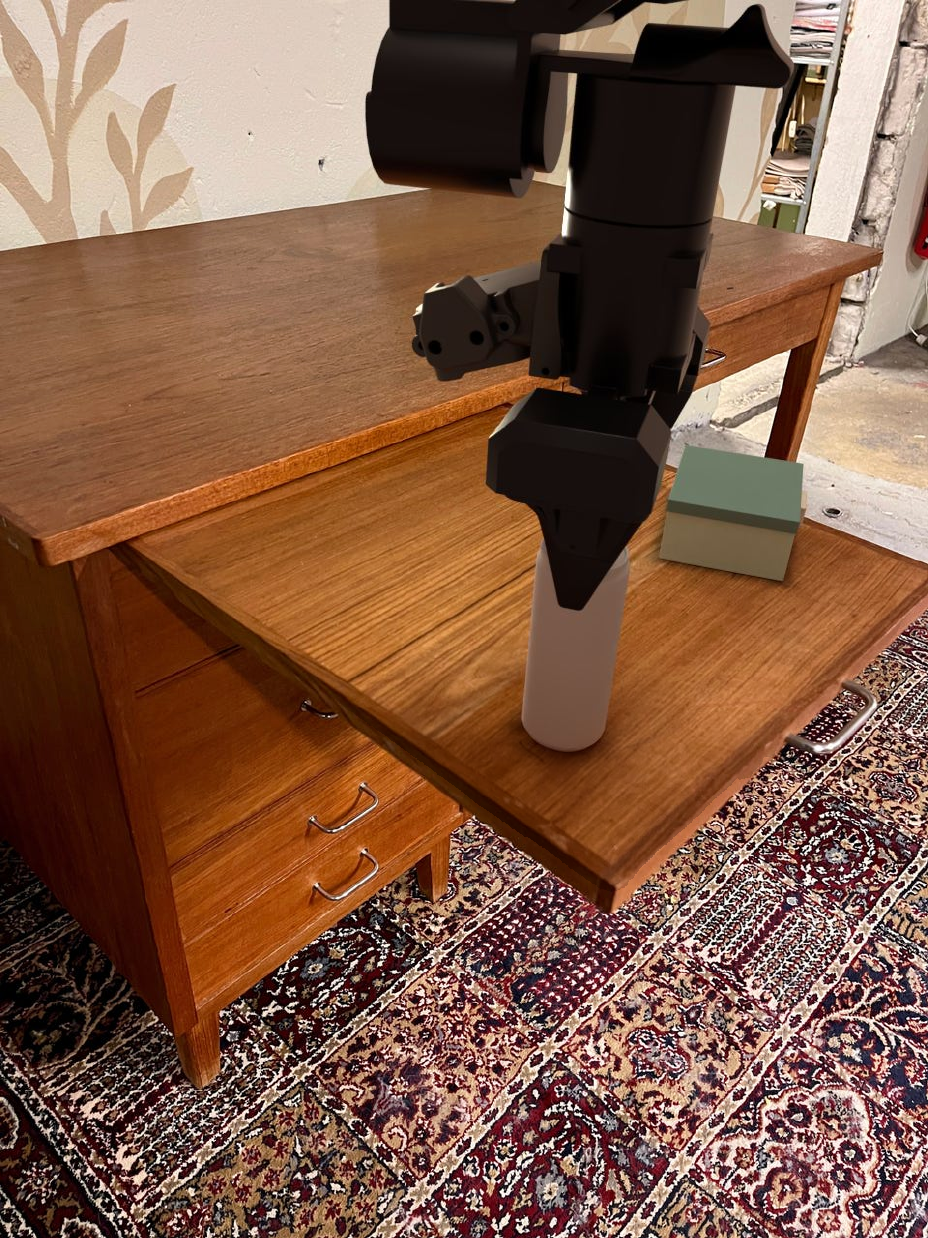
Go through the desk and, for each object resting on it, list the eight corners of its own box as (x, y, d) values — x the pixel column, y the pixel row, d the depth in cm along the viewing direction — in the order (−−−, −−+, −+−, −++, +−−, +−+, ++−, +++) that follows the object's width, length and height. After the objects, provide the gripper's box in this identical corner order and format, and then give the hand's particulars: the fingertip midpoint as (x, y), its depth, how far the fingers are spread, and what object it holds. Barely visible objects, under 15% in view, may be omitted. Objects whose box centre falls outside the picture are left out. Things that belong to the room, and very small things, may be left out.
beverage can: (608, 758, 54) (638, 575, 47) (521, 755, 54) (539, 571, 47) (599, 703, 58) (626, 527, 51) (519, 700, 58) (535, 523, 51)
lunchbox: (795, 520, 78) (810, 464, 75) (791, 583, 70) (807, 523, 67) (675, 500, 80) (685, 444, 77) (657, 558, 72) (667, 499, 69)
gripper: (503, 156, 47) (486, 453, 55) (349, 239, 32) (359, 627, 41) (737, 178, 44) (680, 487, 53) (689, 281, 29) (620, 685, 38)
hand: (591, 557), depth 46 cm, fingers open, 9 cm apart
